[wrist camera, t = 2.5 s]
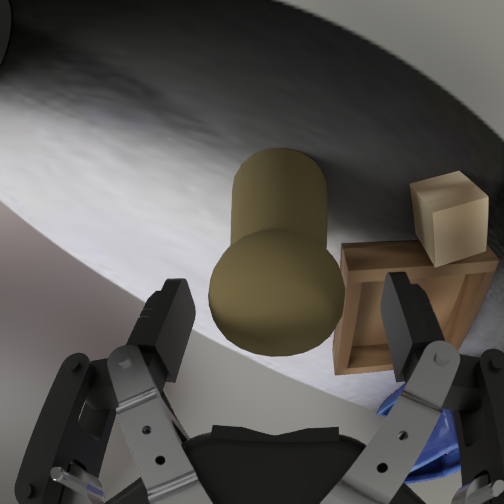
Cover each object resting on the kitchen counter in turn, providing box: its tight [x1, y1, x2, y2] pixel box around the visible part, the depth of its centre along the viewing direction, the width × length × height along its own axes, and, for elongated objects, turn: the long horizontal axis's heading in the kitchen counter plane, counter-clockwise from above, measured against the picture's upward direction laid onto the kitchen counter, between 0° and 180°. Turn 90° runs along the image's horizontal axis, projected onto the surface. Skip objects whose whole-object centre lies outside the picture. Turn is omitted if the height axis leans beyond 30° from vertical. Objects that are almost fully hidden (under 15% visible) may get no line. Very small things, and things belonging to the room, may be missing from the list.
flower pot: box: [377, 384, 461, 484], centre depth 27 cm, size 13×13×12 cm
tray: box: [332, 240, 499, 375], centre depth 22 cm, size 12×12×3 cm
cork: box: [208, 148, 346, 357], centre depth 15 cm, size 6×6×11 cm
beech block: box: [409, 171, 489, 267], centre depth 17 cm, size 4×4×4 cm
